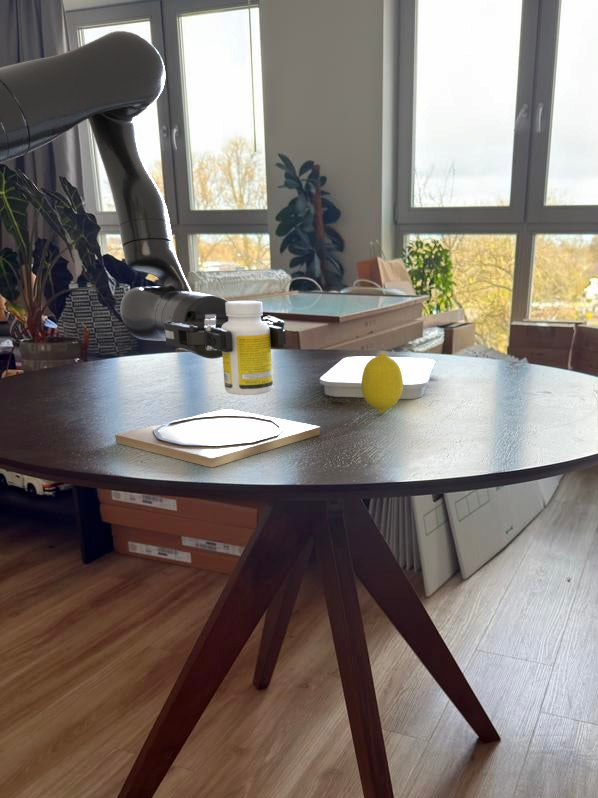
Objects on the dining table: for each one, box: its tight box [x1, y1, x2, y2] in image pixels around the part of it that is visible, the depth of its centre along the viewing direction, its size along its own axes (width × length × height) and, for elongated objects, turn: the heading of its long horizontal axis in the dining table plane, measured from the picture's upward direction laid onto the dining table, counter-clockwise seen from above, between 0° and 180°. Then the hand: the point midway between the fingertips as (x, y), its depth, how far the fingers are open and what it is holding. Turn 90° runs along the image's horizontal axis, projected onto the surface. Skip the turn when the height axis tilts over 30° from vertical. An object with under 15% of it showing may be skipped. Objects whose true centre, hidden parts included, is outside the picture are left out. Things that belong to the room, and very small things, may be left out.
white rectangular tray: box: [319, 355, 436, 400], centre depth 118 cm, size 16×26×2 cm, turn 173°
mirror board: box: [114, 408, 321, 468], centre depth 84 cm, size 17×16×1 cm
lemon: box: [361, 352, 403, 414], centre depth 96 cm, size 6×6×8 cm
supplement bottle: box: [221, 300, 274, 396], centre depth 80 cm, size 5×5×10 cm
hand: (255, 340), depth 78 cm, fingers closed on supplement bottle, 5 cm apart
